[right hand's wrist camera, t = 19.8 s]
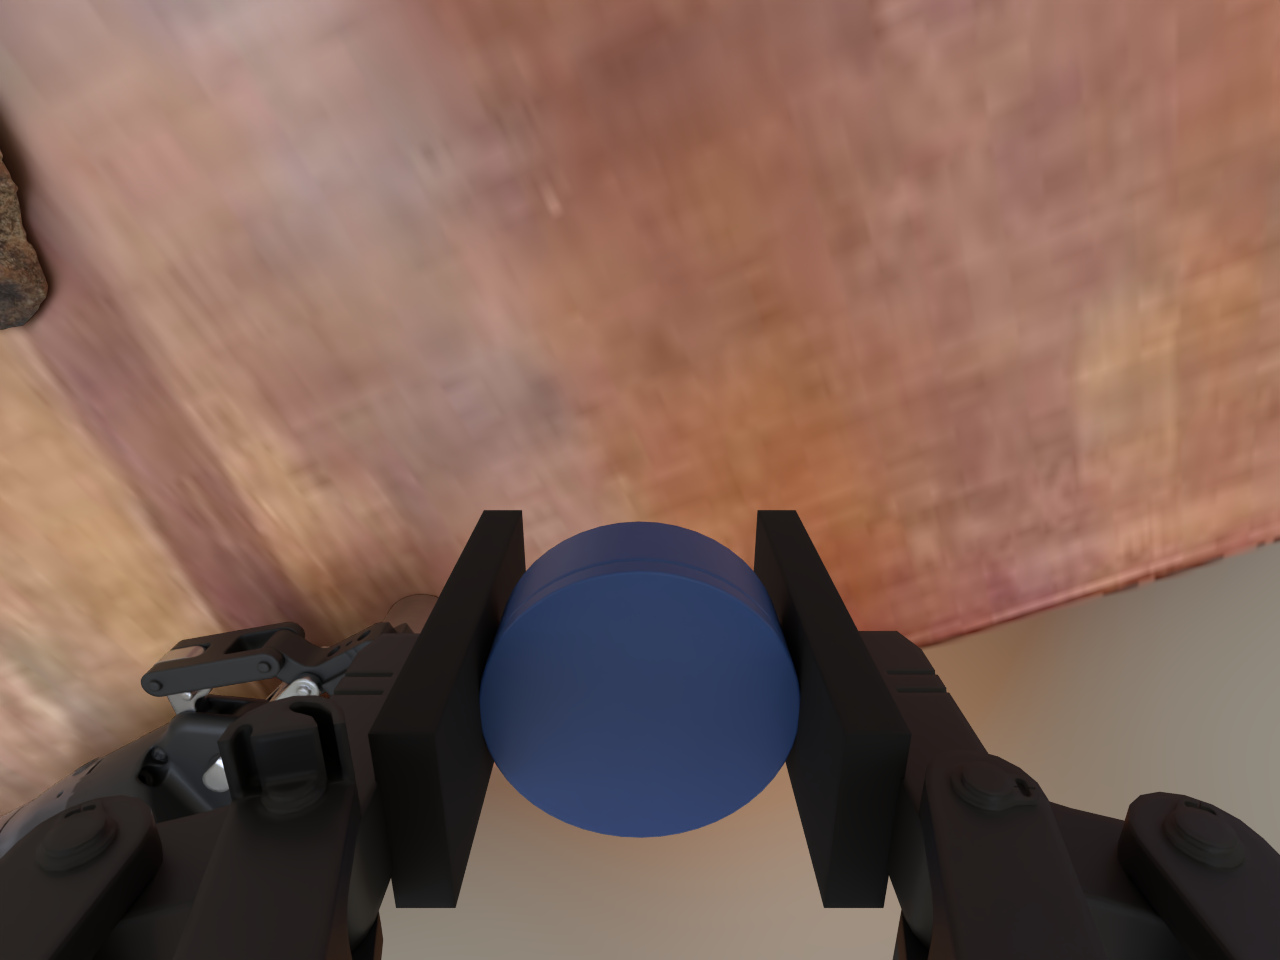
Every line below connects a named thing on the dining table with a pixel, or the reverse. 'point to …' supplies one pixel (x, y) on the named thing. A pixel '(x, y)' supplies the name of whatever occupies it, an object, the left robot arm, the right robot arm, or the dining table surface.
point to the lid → (639, 682)
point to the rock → (16, 261)
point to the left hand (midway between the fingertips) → (436, 680)
